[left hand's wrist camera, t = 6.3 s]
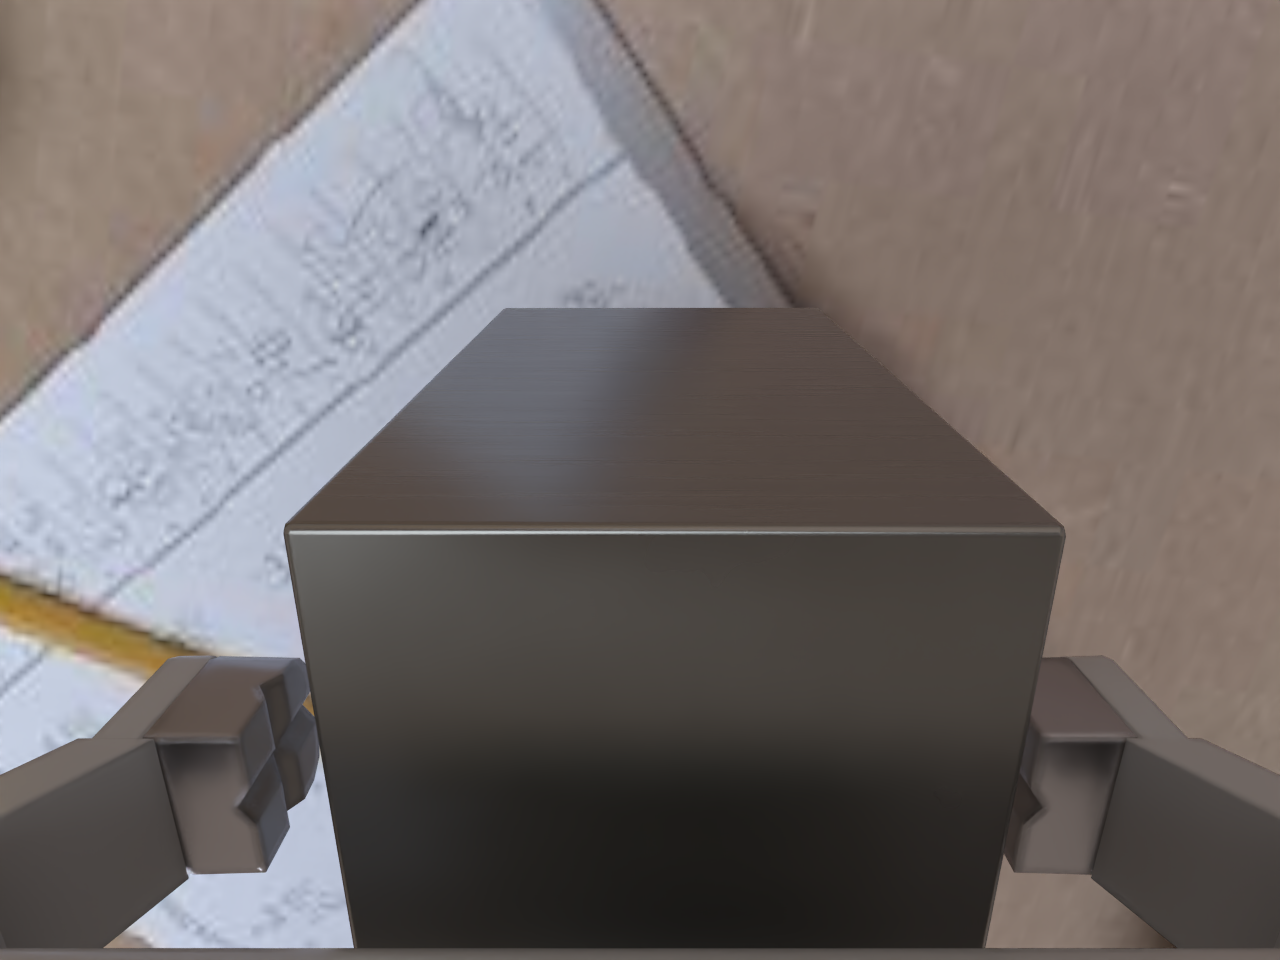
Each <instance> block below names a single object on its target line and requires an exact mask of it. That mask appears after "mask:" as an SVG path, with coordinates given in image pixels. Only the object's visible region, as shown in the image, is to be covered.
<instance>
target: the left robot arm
mask: <svg viewBox="0 0 1280 960" xmlns="http://www.w3.org/2000/svg"><path fill="white" fill-rule="evenodd" d="M309 692H310V686H309V680H308V674H307V668H306V664H305V663H304V662H303V661H302V660H301V659H300V658H281V657H232V656H220V657H216V656H178V657H174V658H170V659H168V660H167V661H166V662H165V663H164V664H163V665H162V666H161V667H160V668H159V669H158V670H157V671H156V672H155V673H154V674H153V675H152V676H151V677H150V678H149V679H148V680H147V682H146V683H145V684H144V685H143V686H142V687H141V688H140V689H139V690H138V691H137V692H136V693H135V694H134V695H133V696H132V697H131V698H130V699H129V700H128V701H127V702H126V703H125V705H124V706H123V707H122V708H121V709H120V710H119V711H118V712H117V713H116V714H115V715H114V716H113V717H112V718H111V719H110V720H109V721H108V722H107V723H106V724H105V725H104V726H103V727H102V729H101V730H100V731H99V732H98V733H97V734H96V735H95V736H94V737H93V738H89V739H76V740H74V741H72V742H70V743H68V744H65V745H63V746H61V747H59V748H57V749H55V750H53V751H51V752H48V753H46V754H44V755H42V756H40V757H38V758H36V759H33V760H31V761H29V762H27V763H25V764H23V765H21V766H19V767H16V768H14V769H12V770H10V771H8V772H6V773H4V774H2V775H0V960H1280V775H1278V774H1276V773H1274V772H1272V771H1270V770H1268V769H1266V768H1263V767H1261V766H1259V765H1257V764H1255V763H1253V762H1251V761H1249V760H1246V759H1244V758H1242V757H1240V756H1238V755H1236V754H1234V753H1232V752H1229V751H1227V750H1225V749H1223V748H1221V747H1219V746H1217V745H1215V744H1212V743H1210V742H1208V741H1206V740H1204V739H1191V738H1187V737H1186V736H1185V735H1184V734H1183V733H1182V732H1181V731H1180V730H1179V728H1178V727H1177V726H1176V725H1175V724H1174V723H1173V722H1172V721H1171V720H1170V719H1169V718H1168V717H1167V716H1166V715H1165V714H1164V713H1163V712H1162V711H1161V710H1160V709H1159V708H1158V706H1157V705H1156V704H1155V703H1154V702H1153V701H1152V700H1151V699H1150V698H1149V697H1148V696H1147V695H1146V694H1145V693H1144V692H1143V691H1142V690H1141V689H1140V688H1139V687H1138V686H1137V685H1136V683H1135V682H1134V681H1133V680H1132V679H1131V678H1130V677H1129V676H1128V675H1127V674H1126V673H1125V672H1124V671H1123V670H1122V669H1121V668H1120V667H1119V666H1118V665H1117V664H1116V663H1115V662H1114V660H1112V659H1109V658H1107V657H1105V656H1102V655H1100V656H1072V657H1054V658H1042V660H1041V665H1040V670H1039V675H1038V681H1037V686H1036V691H1035V696H1034V701H1033V706H1032V711H1031V716H1030V721H1029V727H1028V732H1027V737H1026V742H1025V747H1024V752H1023V757H1022V762H1021V767H1020V772H1019V778H1018V783H1017V788H1016V793H1015V798H1014V803H1013V808H1012V813H1011V818H1010V823H1009V829H1008V834H1007V839H1006V844H1005V849H1004V854H1005V856H1006V858H1007V860H1008V862H1009V864H1010V865H1011V867H1012V869H1013V871H1014V872H1019V873H1055V874H1091V875H1092V877H1091V878H1092V879H1093V880H1094V881H1095V882H1097V883H1098V884H1099V885H1100V886H1102V887H1103V888H1104V889H1105V890H1107V891H1108V892H1109V893H1110V894H1111V895H1113V896H1114V897H1115V898H1116V899H1118V900H1119V901H1120V902H1121V903H1123V904H1124V905H1125V906H1126V907H1127V908H1129V909H1130V910H1131V911H1132V912H1134V913H1135V914H1136V915H1137V916H1139V917H1140V918H1141V919H1142V920H1144V921H1145V922H1146V923H1147V924H1148V925H1150V926H1151V927H1152V928H1153V929H1155V930H1156V931H1157V932H1158V933H1160V934H1161V935H1162V936H1163V937H1164V938H1166V939H1167V940H1168V941H1169V942H1171V943H1172V944H1173V945H1174V946H1176V947H1177V948H103V947H105V946H106V945H107V944H108V943H110V942H111V941H112V940H113V939H115V938H116V937H117V936H118V935H119V934H121V933H122V932H123V931H124V930H126V929H127V928H128V927H129V926H131V925H132V924H133V923H134V922H136V921H137V920H138V919H139V918H140V917H142V916H143V915H144V914H145V913H147V912H148V911H149V910H150V909H152V908H153V907H154V906H155V905H157V904H158V903H159V902H160V901H161V900H163V899H164V898H165V897H166V896H168V895H169V894H170V893H171V892H173V891H174V890H175V889H176V888H178V887H179V886H180V885H181V884H182V883H184V882H185V881H186V880H187V879H188V875H189V874H224V873H259V872H266V871H267V869H268V867H269V866H270V864H271V862H272V860H273V858H274V856H275V854H276V852H277V851H278V849H279V847H280V845H281V843H282V841H283V839H284V837H285V836H286V834H287V832H288V830H289V828H290V825H289V819H288V813H287V811H288V810H289V809H291V808H292V807H294V806H295V805H296V804H298V803H299V802H301V801H302V800H304V799H305V797H306V795H307V793H308V791H309V789H310V787H311V785H312V783H313V781H314V778H315V773H316V769H317V765H318V760H319V747H320V745H319V739H318V733H317V727H316V721H315V717H314V716H313V715H312V714H311V713H310V712H309V711H308V710H307V709H306V708H305V707H304V706H303V705H302V704H303V702H304V701H305V699H306V697H307V696H308V694H309Z"/></svg>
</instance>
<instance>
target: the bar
mask: <svg viewBox="0 0 1280 960" xmlns="http://www.w3.org/2000/svg"><path fill="white" fill-rule="evenodd" d="M1065 538H1066V535H1065V529H1064V526H1063V525H1061V524H1060V523H1059V522H1058V521H1057V520H1056V519H1055V518H1054V517H1052V516H1051V515H1050V514H1049V513H1048V512H1047V511H1046V510H1045V509H1043V508H1042V507H1041V506H1040V505H1039V504H1038V503H1037V502H1036V501H1034V500H1033V499H1032V498H1031V497H1030V496H1029V495H1028V494H1027V493H1025V492H1024V491H1023V490H1022V489H1021V488H1020V487H1019V486H1018V485H1016V484H1015V483H1014V482H1013V481H1012V480H1011V479H1010V478H1009V477H1007V476H1006V475H1005V474H1004V473H1003V472H1002V471H1001V470H1000V469H998V468H997V467H996V466H995V465H994V464H993V463H992V462H991V461H989V460H988V459H987V458H986V457H985V456H984V455H983V454H982V453H980V452H979V451H978V450H977V449H976V448H975V447H974V446H973V445H971V444H970V443H969V442H968V441H967V440H966V439H965V438H964V437H962V436H961V435H960V434H959V433H958V432H957V431H956V430H955V429H953V428H952V427H951V426H950V425H949V424H948V423H947V422H946V421H944V420H943V419H942V418H941V417H940V416H939V415H938V414H937V413H935V412H934V411H933V410H932V409H931V408H930V407H929V406H928V405H926V404H925V403H924V402H923V401H922V400H921V399H920V398H919V397H917V396H916V395H915V394H914V393H913V392H912V391H911V390H910V389H908V388H907V387H906V386H905V385H904V384H903V383H902V382H901V381H899V380H898V379H897V378H896V377H895V376H894V375H893V374H892V373H890V372H889V371H888V370H887V369H886V368H885V367H884V366H883V365H881V364H880V363H879V362H878V361H877V360H876V359H875V358H874V357H872V356H871V355H870V354H869V353H868V352H867V351H866V350H865V349H863V348H862V347H861V346H860V345H859V344H858V343H857V342H856V341H854V340H853V339H852V338H851V337H850V336H849V335H848V334H847V333H845V332H844V331H843V330H842V329H841V328H840V327H839V326H838V325H836V324H835V323H834V322H833V321H832V320H831V319H830V318H829V317H827V316H826V315H825V314H824V313H823V312H822V311H821V310H820V309H817V308H506V309H503V310H502V311H501V312H500V313H499V314H498V315H497V316H496V317H495V318H494V319H493V320H492V321H491V322H490V323H489V324H488V325H487V326H486V327H485V328H484V329H483V330H482V331H481V332H480V333H479V334H478V335H477V336H476V337H475V338H474V339H473V340H472V341H471V342H470V343H469V344H468V345H467V346H466V347H465V348H464V349H463V350H462V351H461V352H460V353H459V354H458V355H457V356H456V357H455V358H454V359H453V360H452V361H451V362H450V363H449V364H448V365H446V366H445V367H444V368H443V369H442V370H441V371H440V372H439V373H438V374H437V375H436V376H435V377H434V378H433V379H432V380H431V381H430V382H429V383H428V384H427V385H426V386H425V387H424V388H423V389H422V390H421V391H420V392H419V393H418V394H417V395H416V396H415V397H414V398H413V399H412V400H411V401H410V402H409V403H408V404H407V405H406V406H405V407H404V408H403V409H402V410H401V411H400V412H399V413H398V414H397V415H396V416H395V417H394V418H393V419H392V420H391V421H390V422H389V423H388V424H387V425H385V426H384V427H383V428H382V429H381V430H380V431H379V432H378V433H377V434H376V435H375V436H374V437H373V438H372V439H371V440H370V441H369V442H368V443H367V444H366V445H365V446H364V447H363V448H362V449H361V450H360V451H359V452H358V453H357V454H356V455H355V456H354V457H353V458H352V459H351V460H350V461H349V462H348V463H347V464H346V465H345V466H344V467H343V468H342V469H341V470H340V471H339V472H338V473H337V474H336V475H335V476H334V477H333V478H332V479H331V480H330V481H329V482H328V483H327V484H326V485H325V486H323V487H322V488H321V489H320V490H319V491H318V492H317V493H316V494H315V495H314V496H313V497H312V498H311V499H310V500H309V501H308V502H307V503H306V504H305V505H304V506H303V507H302V508H301V509H300V510H299V511H298V512H297V513H296V514H295V515H294V516H293V517H292V518H291V519H290V520H289V521H288V522H287V523H286V524H285V528H284V539H285V545H286V551H287V557H288V563H289V568H290V574H291V580H292V586H293V592H294V598H295V604H296V610H297V616H298V621H299V627H300V633H301V639H302V645H303V651H304V657H305V663H306V668H307V674H308V680H309V686H310V692H311V698H312V704H313V710H314V715H315V721H316V727H317V733H318V739H319V745H320V751H321V757H322V762H323V768H324V774H325V780H326V786H327V792H328V798H329V804H330V810H331V815H332V821H333V827H334V833H335V839H336V845H337V851H338V857H339V862H340V868H341V874H342V880H343V886H344V892H345V898H346V904H347V909H348V915H349V921H350V927H351V933H352V939H353V945H354V948H985V946H986V941H987V936H988V931H989V926H990V920H991V915H992V910H993V905H994V900H995V895H996V890H997V885H998V880H999V875H1000V869H1001V864H1002V859H1003V854H1004V849H1005V844H1006V839H1007V834H1008V829H1009V823H1010V818H1011V813H1012V808H1013V803H1014V798H1015V793H1016V788H1017V783H1018V778H1019V772H1020V767H1021V762H1022V757H1023V752H1024V747H1025V742H1026V737H1027V732H1028V727H1029V721H1030V716H1031V711H1032V706H1033V701H1034V696H1035V691H1036V686H1037V681H1038V675H1039V670H1040V665H1041V660H1042V655H1043V650H1044V645H1045V640H1046V635H1047V630H1048V624H1049V619H1050V614H1051V609H1052V604H1053V599H1054V594H1055V589H1056V584H1057V579H1058V573H1059V568H1060V563H1061V558H1062V553H1063V548H1064V543H1065Z"/></svg>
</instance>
